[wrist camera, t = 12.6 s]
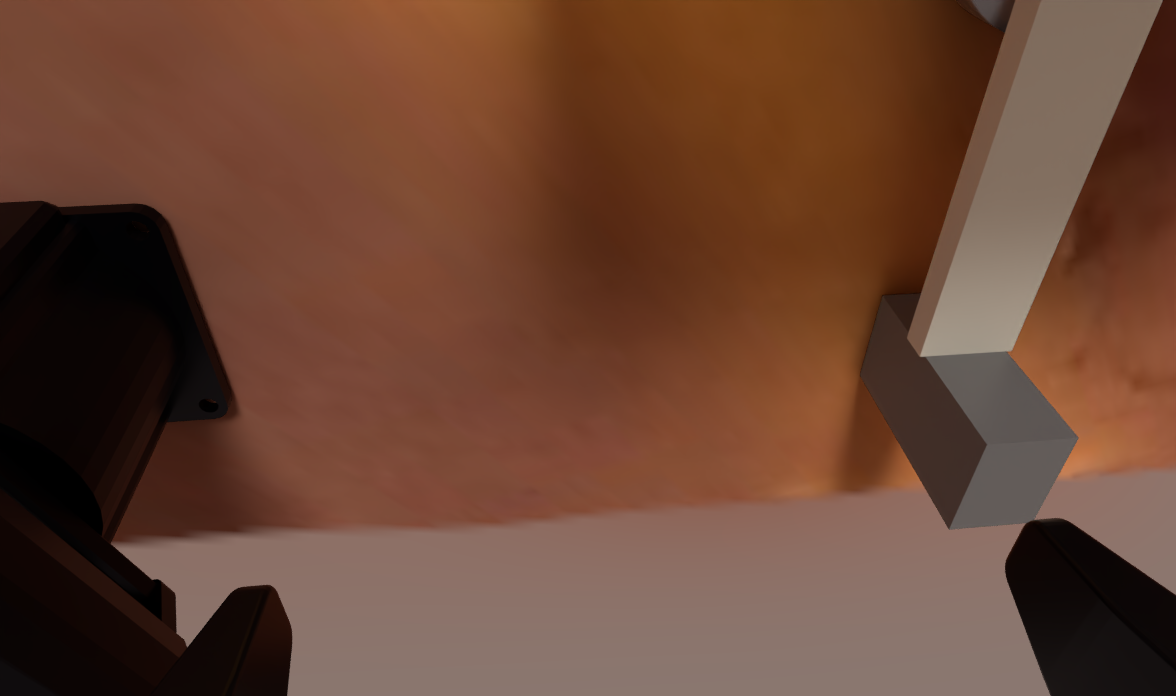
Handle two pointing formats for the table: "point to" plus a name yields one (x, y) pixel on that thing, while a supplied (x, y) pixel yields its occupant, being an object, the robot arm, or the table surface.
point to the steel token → (990, 11)
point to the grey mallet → (1003, 266)
